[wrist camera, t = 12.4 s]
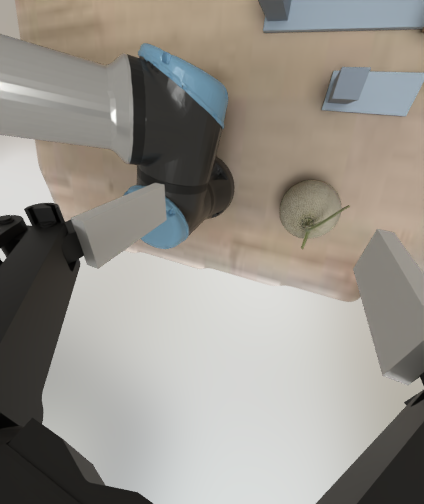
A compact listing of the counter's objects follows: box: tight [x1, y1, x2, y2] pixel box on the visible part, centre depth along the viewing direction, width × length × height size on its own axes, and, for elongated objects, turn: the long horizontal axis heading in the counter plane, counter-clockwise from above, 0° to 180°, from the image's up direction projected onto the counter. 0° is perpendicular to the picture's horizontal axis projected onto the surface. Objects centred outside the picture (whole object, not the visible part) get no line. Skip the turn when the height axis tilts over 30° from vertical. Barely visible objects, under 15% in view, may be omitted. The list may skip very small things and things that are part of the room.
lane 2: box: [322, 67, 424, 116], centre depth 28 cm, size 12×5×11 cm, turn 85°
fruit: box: [279, 180, 350, 249], centre depth 38 cm, size 10×12×15 cm
